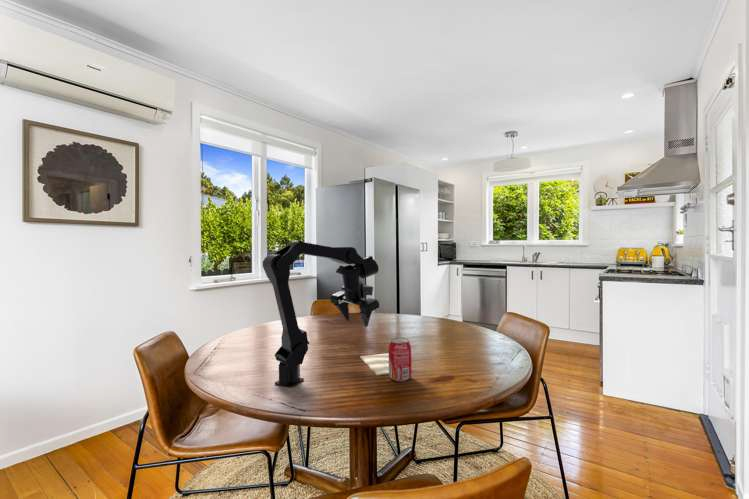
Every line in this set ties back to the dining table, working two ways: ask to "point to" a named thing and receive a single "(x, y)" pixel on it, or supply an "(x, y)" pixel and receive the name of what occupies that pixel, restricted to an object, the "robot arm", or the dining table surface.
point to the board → (378, 363)
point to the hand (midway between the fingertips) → (356, 323)
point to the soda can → (399, 359)
